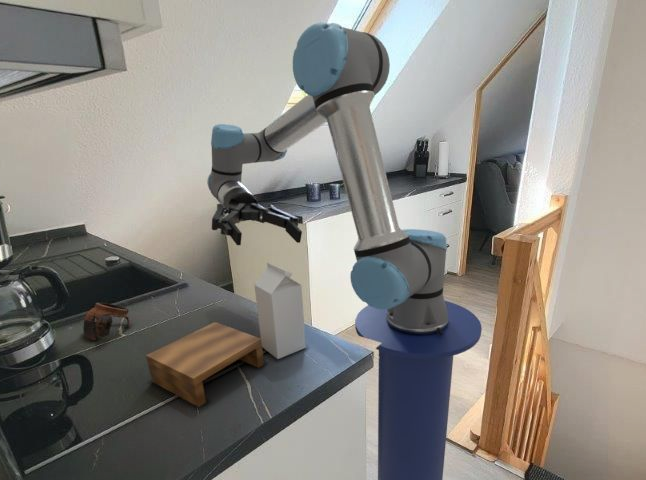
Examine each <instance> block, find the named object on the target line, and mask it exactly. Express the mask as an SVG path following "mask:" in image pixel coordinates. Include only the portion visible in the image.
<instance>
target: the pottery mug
mask: <svg viewBox="0 0 646 480" xmlns="http://www.w3.org/2000/svg"><path fill="white" fill-rule="evenodd" d="M129 311H130V310H129V309H128V308H126V307H124V306H120V305H116V304H112V303H107V302H95V305H94V307H92V308H91V309H90V310H88V311H87V313H86V314H85V317H84V320H83V326H82V329H83V337H84V338H86V339H87V340H92V341H97V336H98V337H100V338H103V337H108V336H109V335H110V332H111V327H112V325H113V324H112V323H113V321H114V320H113V317H115V318H124V319H126V321H127V322H126V327H127V328H129V327H130V326H131V319H130V316H129V315H128V313H129Z"/></svg>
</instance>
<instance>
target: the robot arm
mask: <svg viewBox="0 0 646 480" xmlns="http://www.w3.org/2000/svg"><path fill="white" fill-rule="evenodd" d="M390 67H391V64H390V56H389V53H388V51H387V48H386V46H385V45H384V43H383V42H382V41H381V40H380V39H379V38H378V37H377V36H375V35H373V34H371V33H368V32H364V31H359V30H355V29H351V28H347V27H343V26H342V25H340V24H339V23H336V22H331V23H328V22H316V23H314V24H311V25H309V26H308V27H307V28H306V29H304V31H303V32H302V33H301V35H300V37H298V40H297V41H296V47H295V48H294V50H293V55H292V73H293V78H294V80H295V83H296V85H297V86H298V88H299V89H300V90H301V91H303V92H304V93H305V94H306V95H305V96H304V97H303V98H302V99H300V100H299V101H298V102H296V103H295V104H294V105H292V106H291V107H290V108H289V109H287V110H286V111H285V112H284V113H282V114H281V115H280V116H279V117H277V118H276V119H275V120H274V121H272V122H271V123H269V124H268V125H267V126H266V127H264V128H263V129H262V130H261V131H259V132H248V133H247V132H246V133H244V129H242V128H241V127H240V126H237V125H233V124H225V123H219V124H218V123H217V124H215V125H214V126H213V127H212V131H211V139H210V140H211V141H210V145H211V171H210V173H209V175H208V177H207V180H206V181H207V182H206V183H207V186H208V190H209V191H210V193H211V195H212V197H214V198H215V199H216V200H217V202H218V203H217V204H216V210H215V212H214V215H213V216H212V218H211V230H212V231H218V230H219V229H220V234H221V235H223V236H224V235H226V236H229V237H230V238H231V239H232V241H233V242H234V243H235V245H236V246H241V245H242V235H243V233H242V231H241V230H240V228H238V226H237V225H236V224H239V223H241V222H247V221H252V222H258V223H261V224H264V223H267V224H271V225H273V226H277V227H279V228H282V229H285V232H286V233H287V234H288V235H289V236H290V237H291V238H292V239H293V240H294V241H295V242H296V243H297V244H299V243H301V241H302V235H303V231H302V230H301V229H300V226H299V220H300V218H299V217H297V216H295V215H293V214H290V213H289V212H286V211H284V210H281V209H280V208H278V207H276V206H275V205H272V204H268V205H267V207H265V206H264V207H263V206H262V205H260V204H259V203H258V200H257V198H256V196H255V195H253V193H252V192H251V191H249V189H248V188H247V187H246V186H245V185H243V183H242V173H243V165H247V164H256V163H266V162H267V163H268V162H276V161H279V160H282V159H284V158H285V156H286V154H287V153H288V149H290V148H291V147H293V146H294V145H296V144H297V143H299V142H300V141H301V140H303V139H305V138H306V137H308V136H309V135H311V134H312V133H314V132H315V131H316V130H318V129H319V128H321V127H322V126H324V125H325V124H326V123H327V127H328V129H329V133H330V137H331V141H332V145H333V148H334V152H335V156H336V159H337V163H338V167H339V171H340V174H341V179H342V182H343V186H344V189H345V193H346V196H347V202H348V205H349V208H350V212H351V216H352V220H353V223H354V227H355V231H356V234H357V241H356V243H355V245H354V247H353V252H354V255H355V260H356V262H355V263H354V264H353V266H352V270H351V271H350V275H349V276H350V277H349V278H350V284H351V287H352V289H353V291H354V293H355V295H356V296H357V297H358V299H360V300H361V301H362V302H363V303H366V304H367V306H368V305H369V306H370V307H373V308H376V309H381V310H385V309H388V310H387V315H386V321H387V324H388V325H389V326H390V327H391V328H392V329H394V330H396V331H398V332H400V333H404V334H408V335H415V336H426V335H433V334H437V333H440V335H443V334H444V333H443V332H442V331H443V330H445V329H446V328H447V326H448V321H449V315H448V311H447V308H446V304H445V301H446V300H445V298H444V285H445V283H444V282H445V273H446V272H445V271H446V261H447V260H446V259H447V251H448V247H447V237H446V235H445V234H443V233H441V232H439V231H434V230H428V229H416V228H415V229H414V228H405V229H401V228H400V226H399V222H398V218H397V217H398V216H397V213H396V209H395V206H394V201H393V197H392V193H391V188H390V185H389V181H388V177H387V172H386V169H385V165H384V160H383V156H382V152H381V148H380V143H379V141H378V140H379V139H378V136H377V131H376V127H375V124H374V120H373V116H372V112H371V104H372V102H373V101H374V99H375V97H376V95H378V93H379V92H380V91H381V90H382V89H383V88H384V86H385V85H386V82H387V81H388V78H389V75H390ZM444 300H445V301H444Z"/></svg>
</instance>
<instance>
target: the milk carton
mask: <svg viewBox="0 0 646 480" xmlns="http://www.w3.org/2000/svg"><path fill="white" fill-rule="evenodd" d="M292 275H293V273H292V272H290V271H289V270H288V269H285V268H282V267H279V266H277V265H276V264H275V265H274V264H273V263H271V262H269V261H267V262H266V268H265V270H264V271H263V272H262V273H261V275H260V276H259V277H258V279H257V280H256V281H255V282H254V284H253V286H254V293H255V301H256V310H257V318H258V319H257V320H258V327H259V334H260V338H261V342H262V349H264V350H265V351H267V352H268V353H269V354H271V355H272V356H273V357H274V358H275V359H277V360H279V359H283V358H285V357H288V356H289V355H291V354H294V353H297V352H299V351H302V350H304V349H306V348H307V344H306V331H305V330H306V329H305V328H306V327H305V315H304V304H303V301H304V300H303V290H302V289H303V288H302V287H303V286H302V284H301V283H299V282H297V281H296V280H295V279H292V278H291V276H292Z"/></svg>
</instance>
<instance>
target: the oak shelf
mask: <svg viewBox="0 0 646 480" xmlns="http://www.w3.org/2000/svg"><path fill="white" fill-rule="evenodd" d="M145 358H146V362H147V365H148V371H149V374H150V377H151V381H152V383H153V384H155V385H157V386H159V387H160V388H163V389H165V390H166V391H168V392H169V393H172V394H174V395H175V396H177V397H179V398H181V399H183V400H185V401H186V402H188V403H191V404H192V405H194V406H196V407H198V408H200V407H201V406H203V405H204V404H206V403H207V399H206V395H205V394H206V393H205V389H204V383H203V381H205V380H207V379H208V378H209V377H211V376H213V375H214V374H216V373H218V372H220V371H221V370H223V369H225V368H226V367H228V366H229V365H231V364H233V363H234V362H237V361H238V360H239V361H241V362H243V363H246V364H249V365H251V366H252V367H253V366H254V367H256V368H260V367H262V366H264V365H265V361H264V352H263V347H262V342H261V337H258V336H255V335H252V334H249V333H246V332H243V331H240V330H238V329H236V328H234V327H233V328H232V327H231V326H227V325H224V324H221V323H218V322H216V321H215V322H212V323H210V324H208V325H206V326H204V327H202V328H199V329H198V330H195V331H193V332H192V333H189V334H187V335H185V336H183V337H181V338H179V339H176V340H174V341H173V342H171V343H169V344H167V345H164V346H162V347H161V348H159V349H156V350H154V351H152V352H150V353H147V354H146V355H145Z"/></svg>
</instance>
